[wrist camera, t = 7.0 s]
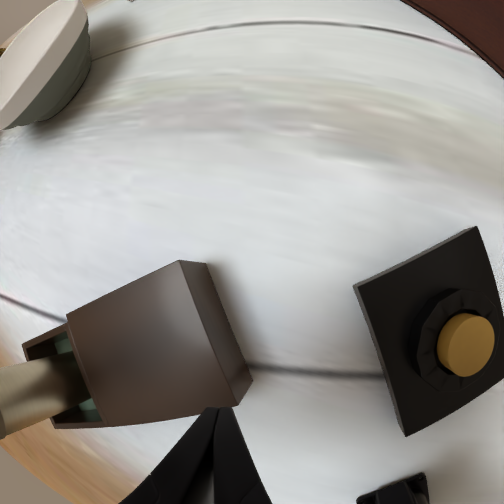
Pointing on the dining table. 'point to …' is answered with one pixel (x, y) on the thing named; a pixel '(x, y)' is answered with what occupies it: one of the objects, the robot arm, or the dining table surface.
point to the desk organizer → (471, 24)
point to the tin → (39, 391)
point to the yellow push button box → (432, 326)
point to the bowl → (44, 65)
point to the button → (465, 344)
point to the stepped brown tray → (150, 351)
